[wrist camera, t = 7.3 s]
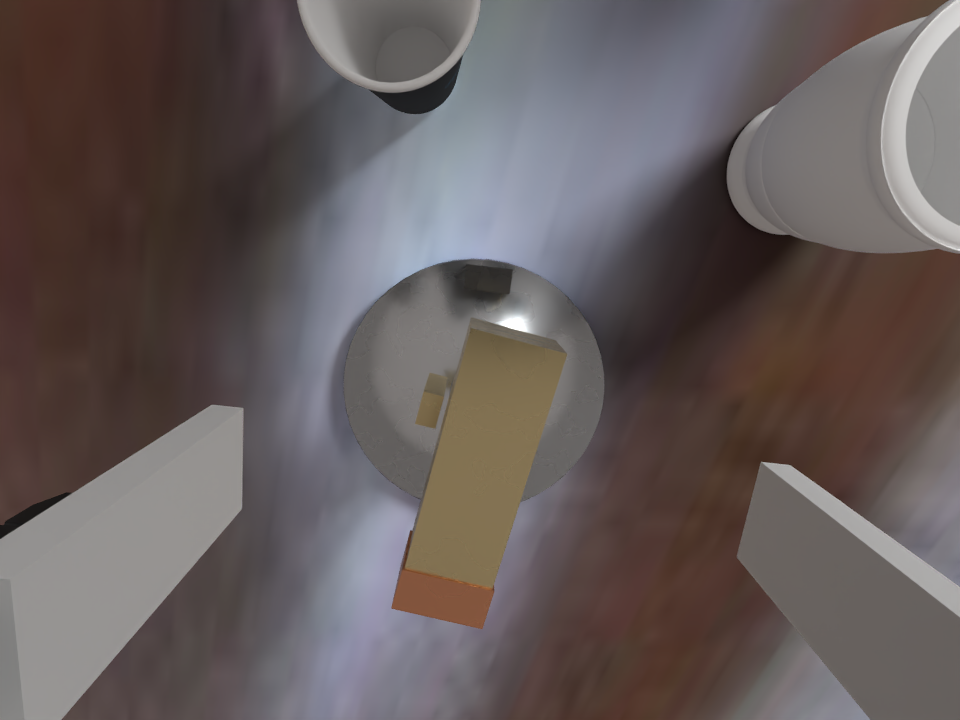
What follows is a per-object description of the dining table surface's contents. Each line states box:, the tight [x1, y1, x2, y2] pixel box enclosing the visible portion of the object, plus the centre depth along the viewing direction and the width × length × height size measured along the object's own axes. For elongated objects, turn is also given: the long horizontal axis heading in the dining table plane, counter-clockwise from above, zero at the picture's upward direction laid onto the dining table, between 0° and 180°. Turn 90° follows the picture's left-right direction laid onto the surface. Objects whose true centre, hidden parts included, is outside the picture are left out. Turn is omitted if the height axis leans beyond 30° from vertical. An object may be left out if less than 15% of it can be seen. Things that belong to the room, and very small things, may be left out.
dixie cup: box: [297, 0, 481, 114], centre depth 28 cm, size 8×8×11 cm
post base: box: [344, 259, 604, 502], centre depth 33 cm, size 18×18×8 cm
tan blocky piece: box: [392, 317, 567, 629], centre depth 28 cm, size 7×13×13 cm, turn 164°
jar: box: [727, 0, 960, 254], centre depth 27 cm, size 11×10×15 cm
